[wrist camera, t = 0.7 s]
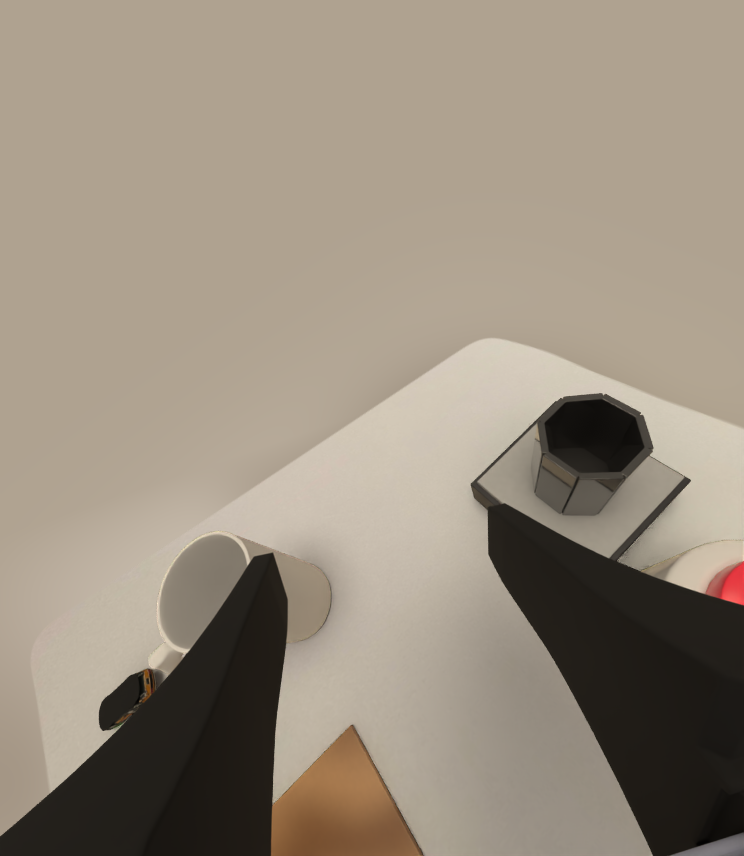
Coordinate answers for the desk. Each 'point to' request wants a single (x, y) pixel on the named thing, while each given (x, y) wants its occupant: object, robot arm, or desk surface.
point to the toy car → (126, 699)
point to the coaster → (340, 809)
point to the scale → (597, 533)
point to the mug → (228, 592)
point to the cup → (587, 452)
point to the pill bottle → (707, 570)
